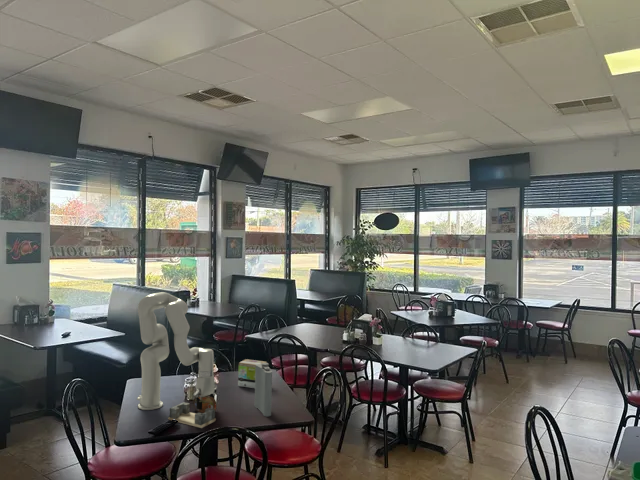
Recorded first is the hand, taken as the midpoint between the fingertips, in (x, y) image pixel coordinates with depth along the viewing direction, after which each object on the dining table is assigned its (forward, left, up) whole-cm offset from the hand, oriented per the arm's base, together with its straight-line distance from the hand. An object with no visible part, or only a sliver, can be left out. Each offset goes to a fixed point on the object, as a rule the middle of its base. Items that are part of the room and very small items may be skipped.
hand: (205, 406), depth 245 cm
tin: (0, 0, -3) cm, 3 cm away
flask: (+25, +17, -3) cm, 30 cm away
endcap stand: (+2, -12, -3) cm, 13 cm away
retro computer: (-4, +49, -3) cm, 49 cm away
